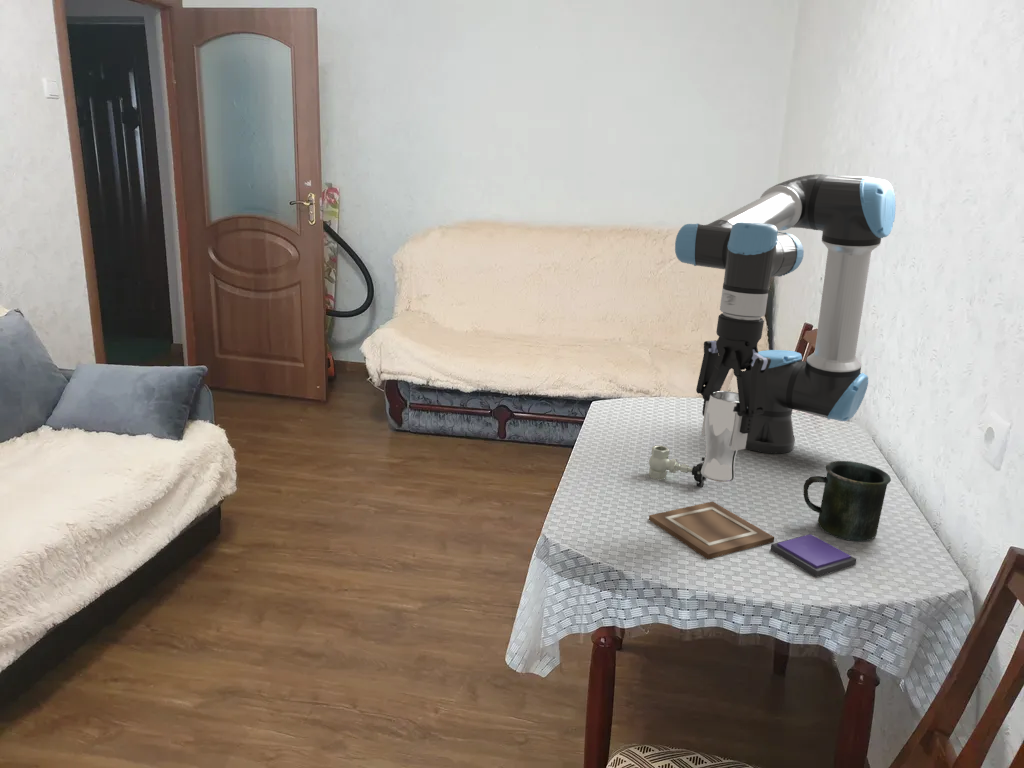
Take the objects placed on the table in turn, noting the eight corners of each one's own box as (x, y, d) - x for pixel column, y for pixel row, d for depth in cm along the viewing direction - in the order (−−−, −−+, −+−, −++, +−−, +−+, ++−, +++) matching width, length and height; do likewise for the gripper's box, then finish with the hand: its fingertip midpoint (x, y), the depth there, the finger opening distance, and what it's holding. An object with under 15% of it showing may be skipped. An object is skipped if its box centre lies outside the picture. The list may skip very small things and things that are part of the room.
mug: (884, 547, 141) (898, 487, 137) (801, 535, 144) (812, 476, 140) (871, 522, 151) (883, 465, 148) (793, 511, 154) (803, 455, 150)
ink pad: (808, 539, 142) (810, 531, 142) (855, 565, 134) (857, 557, 133) (770, 550, 137) (771, 542, 137) (816, 577, 129) (817, 568, 129)
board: (711, 506, 154) (712, 500, 153) (773, 541, 140) (774, 536, 140) (648, 520, 146) (649, 514, 146) (707, 559, 133) (708, 553, 132)
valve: (643, 479, 165) (699, 493, 160) (646, 450, 163) (703, 463, 158) (652, 469, 170) (706, 482, 166) (655, 441, 169) (710, 453, 164)
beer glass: (705, 482, 136) (716, 401, 132) (693, 467, 143) (703, 389, 139) (743, 483, 137) (755, 403, 133) (729, 468, 144) (741, 390, 139)
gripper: (685, 305, 138) (670, 426, 144) (770, 328, 122) (748, 464, 128) (717, 303, 142) (700, 421, 148) (803, 326, 125) (780, 458, 132)
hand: (722, 441), depth 138 cm, fingers closed on beer glass, 7 cm apart
